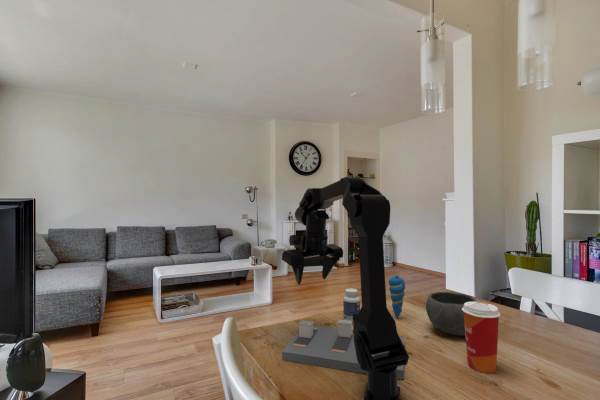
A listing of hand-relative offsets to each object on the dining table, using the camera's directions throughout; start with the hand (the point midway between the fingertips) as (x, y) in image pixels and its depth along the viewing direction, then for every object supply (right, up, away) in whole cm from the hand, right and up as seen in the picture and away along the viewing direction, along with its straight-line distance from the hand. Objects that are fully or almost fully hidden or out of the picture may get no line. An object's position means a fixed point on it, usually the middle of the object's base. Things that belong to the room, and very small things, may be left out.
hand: (311, 281), depth 92 cm
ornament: (+29, -15, +9) cm, 34 cm away
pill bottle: (+13, -15, +8) cm, 22 cm away
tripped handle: (-2, -12, -9) cm, 15 cm away
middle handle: (+9, -12, -9) cm, 18 cm away
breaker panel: (+8, -14, -13) cm, 21 cm away
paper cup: (+38, -14, -21) cm, 46 cm away
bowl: (+42, -15, -2) cm, 44 cm away
